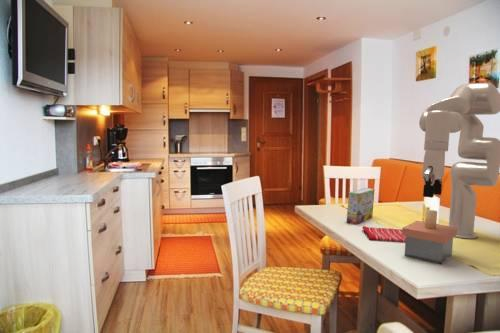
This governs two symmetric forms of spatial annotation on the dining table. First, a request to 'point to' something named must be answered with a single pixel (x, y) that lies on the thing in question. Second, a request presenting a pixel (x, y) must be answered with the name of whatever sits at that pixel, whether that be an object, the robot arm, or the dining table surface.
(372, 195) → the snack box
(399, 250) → the dining table surface
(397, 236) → the dish towel
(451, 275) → the dining table surface
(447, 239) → the lid
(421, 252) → the tin
